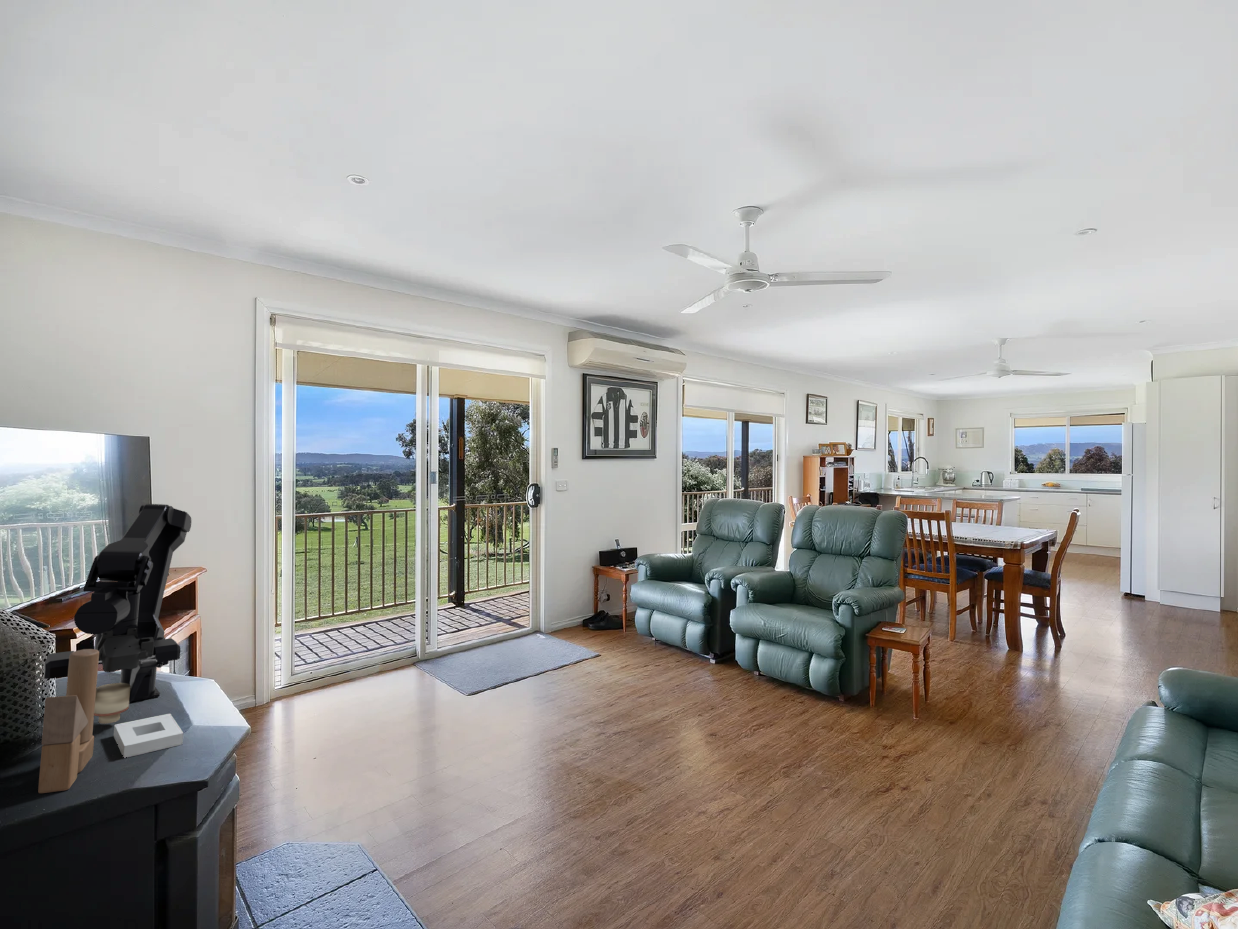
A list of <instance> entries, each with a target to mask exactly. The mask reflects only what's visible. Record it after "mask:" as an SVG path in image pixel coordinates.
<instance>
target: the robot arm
mask: <svg viewBox="0 0 1238 929" xmlns="http://www.w3.org/2000/svg"><path fill="white" fill-rule="evenodd" d="M191 527H192V517H191V515H190V514H189V513H188V512H186V511H185V510H181V509H177V508H174V507H173V506H172V505H169V504H163V503H161V504H160V503H146V504H141V506H140V508H139V511H138V515H137V516H136V518H135V519H134V520H133V522H132V524H131V525H129V528H128V530H127V531H125V533H124V535H123V536H122V538H121V539H120V540H117V541H114V542H111V543H109V544H107V545H106V546H105V547H104V548H103V549H102V550H101V551H100V552H99V554H98V555H96V556H95V557H94V559H93V560H92V563H91V567H90V570H89V573H88V575H87V578H86V581H85V584H84V586H83V592H84V593H85V592H88V593H89V592H91V595H90V600H88V601H86V602H85V603H83V604H82V605H80V606H79V607H78V609H76V612H75V613H74V618H73V621H74V624H75V626H76V628H77V629H78V630H79V631H81V632H82V633H85V634H87V635H95V641H94V649H96V650H98V651H99V662H98V665H102V671H104V672H105V673H115V672H117V671H120V678H119V679H120V680H119V683H127V684H130V698H129V703H131V702H136V701H142V700H147V699H152V698H157V697H159V696H160V695H161V693H160V692H159V690H158V688H157V687H156V680H157V671H158V670H157V669H158V668H159V669H160V668H161V669H162V667H163V666H167V665H169V662H171V661H172V662H173V661H177V660H179V659H180V657H181V646H180V644H178V643H177V641H176V640H175V639H173V638H166V637H165V630H164V628H163V625H162V624H161V622H160V620H159V617H160V612H161V608H162V602H163V599H164V594H165V590H166V584H167V580H168V576H169V571H170V569H171V568H170V567H171V564H172V558H173V554H174V553H175V551H176V550H177V549H178V548H179V547H180V546H181V545H182V544H184V543H185V540H186V537H187V534H188V533H189V532H191ZM98 580H99V581H98ZM92 592H93V593H92ZM72 652H75V651H74V650H69V651H68V650H67V651H61V652H53V653H48V656H47V659H46V661H45V665H44V675H43V678H44V679H45V680H46V679H47V680H50V679H56V678H63V677H68V667H69V656H70V654H71V653H72Z"/></svg>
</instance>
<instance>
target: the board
mask: <svg viewBox="0 0 1238 929" xmlns="http://www.w3.org/2000/svg"><path fill="white" fill-rule="evenodd" d="M113 727H114V728H113V738H114V740H115V743H116V744H118V745H117V747H118V748H119V751H120V753H121V755H123V756H122V758H123V757H124V758H123V759H126V757H127V758H130V757H135V756H139V755H143V754H148V753H151V752H155V751H160V750H164V749H168V748H173V747H176V746H181V745H183V743H184V742H183V741H184V732H183V730H182V729H181V727H180V726H179V724H178V723H177V721H176V720H175V718H174V717H173V716H172V714H171V713H166V714H160V715H155V716H151V717H146V718H141V719H136V720H132V721H126V722H121V723H117V724H114V726H113Z"/></svg>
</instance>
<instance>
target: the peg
mask: <svg viewBox="0 0 1238 929" xmlns="http://www.w3.org/2000/svg"><path fill="white" fill-rule="evenodd" d="M129 698H130V684H127V683H120V682H113V683H108V684H102V685H99V686H96V697H95V709H94V717H98V723H99V724H102V725H103V724H104V725H105V724H106V725H107V724H112V723H116V722H118V721H120V720H121V714H122V713H125V712H127V711H128V710H129V708H130V702H129Z"/></svg>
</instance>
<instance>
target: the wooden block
mask: <svg viewBox="0 0 1238 929" xmlns="http://www.w3.org/2000/svg"><path fill="white" fill-rule="evenodd" d="M98 662H99V651H98V650H96V649H95V648H83V649H78V650H75V651H74V652H72V653H71V654H70V656H69V667H68V676H67V681H66V694H65V695H62V696H61V695H60V696H50V697H49V696H48V697H46V698H45V701H44V712H43V713H44V714H43V723H42V724H43V725H42V734H41V735H42V736H41V745H42V746H41V752H40V753H41V756H40V763H39V764H40V766H39V776H38V777H39V778H38V787H37V788H38V789H37V790H38V794H48V793H54V792H55V793H57V792H61V791H62V792H63V791H67V790H69V789H71V787H72V785H73V784H74V783H75V781H76V780H77V778H78V774H80V773H81V772H82V771H83V770H84V768H85V767H86V766H87V765H88V763H89V762H90V760H92V757H93V755H94V747H95V746H94V743H95V735H93V731H94V719H95V718H94V717H95V716H94V709H95V697H96V688H97V683H98V673H99V664H98Z"/></svg>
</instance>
